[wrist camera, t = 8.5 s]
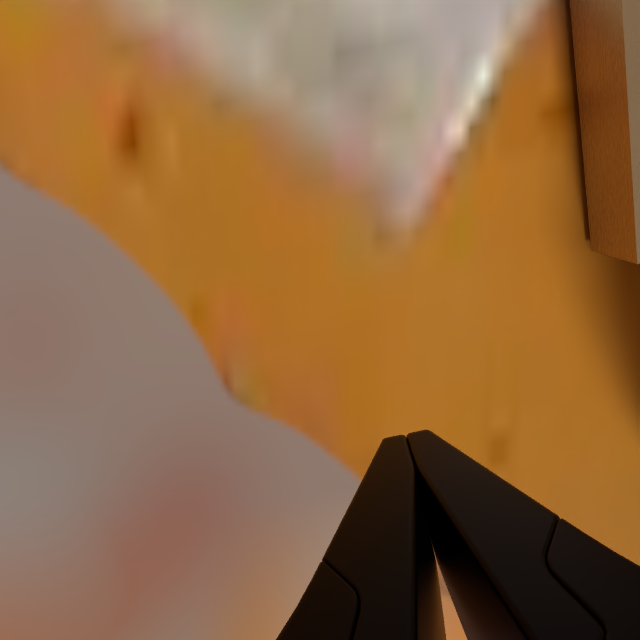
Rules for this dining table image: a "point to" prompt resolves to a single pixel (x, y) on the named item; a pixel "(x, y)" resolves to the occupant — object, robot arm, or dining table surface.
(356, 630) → the robot arm
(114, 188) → the dining table surface
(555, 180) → the dining table surface
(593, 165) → the beige block with rivets
